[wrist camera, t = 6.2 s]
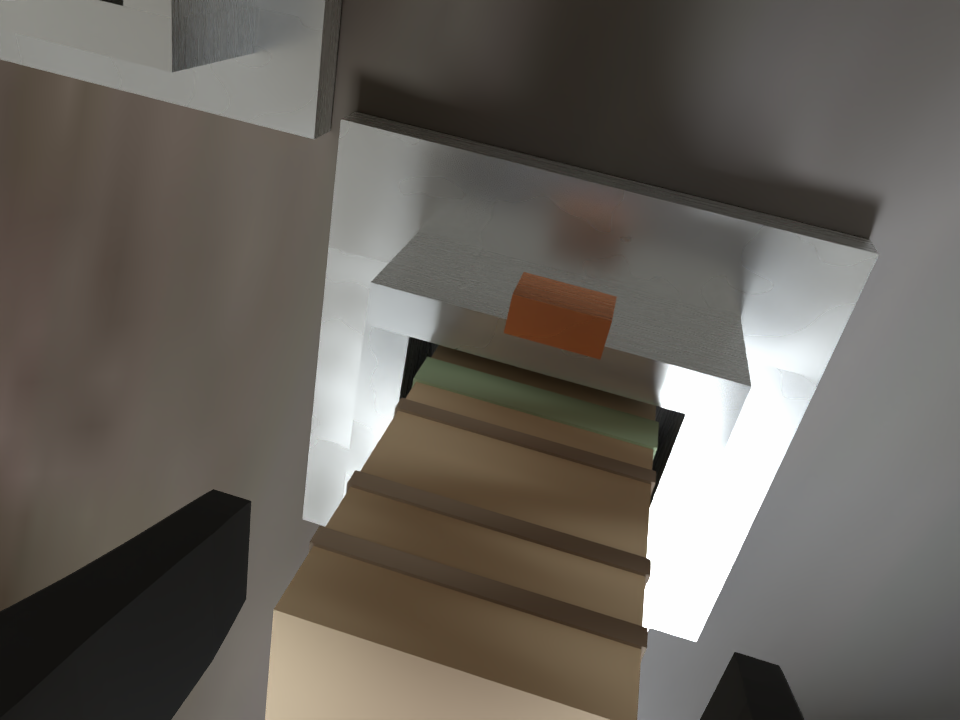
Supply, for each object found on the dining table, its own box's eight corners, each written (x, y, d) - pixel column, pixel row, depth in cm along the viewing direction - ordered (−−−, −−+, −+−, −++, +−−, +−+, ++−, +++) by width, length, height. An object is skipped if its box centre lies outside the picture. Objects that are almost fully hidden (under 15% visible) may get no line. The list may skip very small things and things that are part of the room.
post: (659, 401, 14) (641, 727, 8) (599, 569, 16) (550, 926, 10) (438, 339, 14) (269, 605, 8) (407, 510, 16) (253, 820, 10)
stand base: (869, 239, 14) (925, 325, 11) (696, 617, 19) (697, 753, 16) (356, 111, 15) (267, 154, 12) (315, 499, 20) (244, 605, 17)
